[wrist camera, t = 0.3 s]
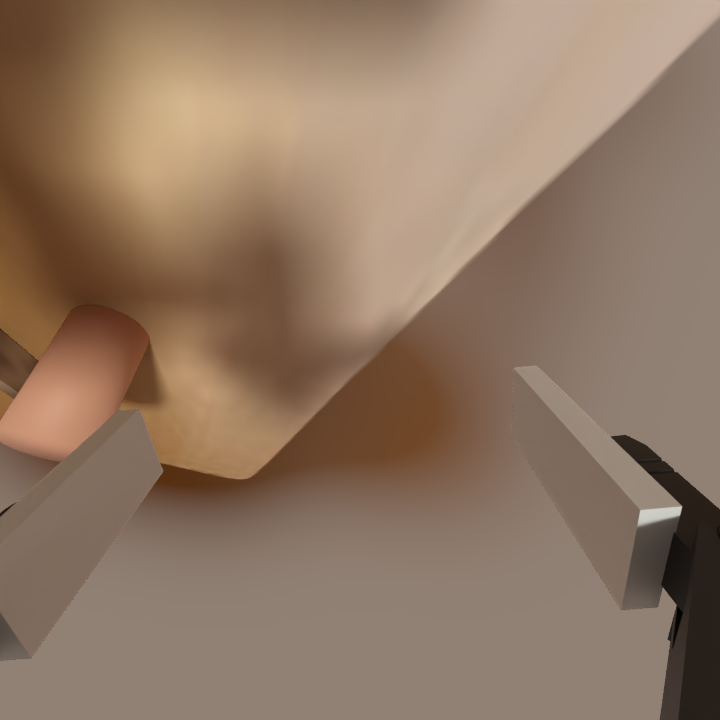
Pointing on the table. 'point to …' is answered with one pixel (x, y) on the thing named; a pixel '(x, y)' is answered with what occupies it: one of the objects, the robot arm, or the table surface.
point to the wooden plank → (14, 365)
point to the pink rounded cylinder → (75, 383)
